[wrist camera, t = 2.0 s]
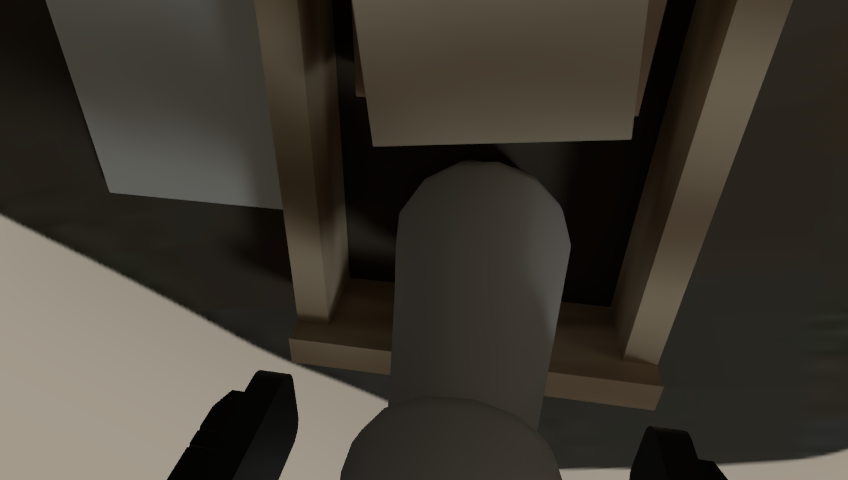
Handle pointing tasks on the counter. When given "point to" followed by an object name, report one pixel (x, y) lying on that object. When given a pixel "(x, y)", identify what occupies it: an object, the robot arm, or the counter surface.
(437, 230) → the salt shaker
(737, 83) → the frame
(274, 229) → the counter surface
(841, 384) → the counter surface
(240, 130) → the coaster
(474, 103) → the offcut top
